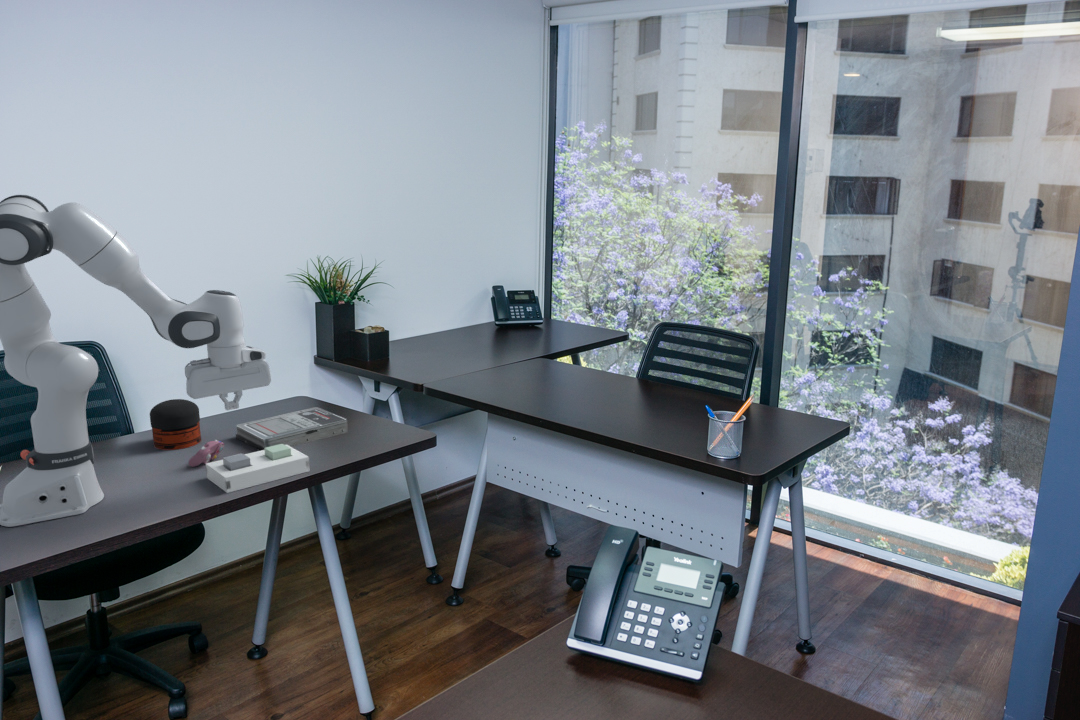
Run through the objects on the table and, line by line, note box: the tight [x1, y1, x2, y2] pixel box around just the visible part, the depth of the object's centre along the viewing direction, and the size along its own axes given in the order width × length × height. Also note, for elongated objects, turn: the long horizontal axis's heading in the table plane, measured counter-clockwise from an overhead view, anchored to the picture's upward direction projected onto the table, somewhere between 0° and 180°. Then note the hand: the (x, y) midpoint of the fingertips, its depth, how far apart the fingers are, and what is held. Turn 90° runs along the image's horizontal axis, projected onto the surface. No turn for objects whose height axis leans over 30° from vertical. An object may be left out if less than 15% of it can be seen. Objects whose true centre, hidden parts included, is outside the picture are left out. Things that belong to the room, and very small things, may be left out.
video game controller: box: [188, 439, 225, 468], centre depth 219 cm, size 10×5×7 cm, turn 168°
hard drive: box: [235, 406, 349, 451], centre depth 241 cm, size 18×27×4 cm
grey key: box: [222, 452, 251, 471], centre depth 206 cm, size 5×5×3 cm
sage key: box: [264, 444, 291, 461], centre depth 213 cm, size 5×5×3 cm
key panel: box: [205, 445, 311, 494], centre depth 210 cm, size 22×13×4 cm, turn 132°
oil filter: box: [149, 398, 202, 451], centre depth 233 cm, size 13×12×13 cm
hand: (232, 408), depth 202 cm, fingers closed
